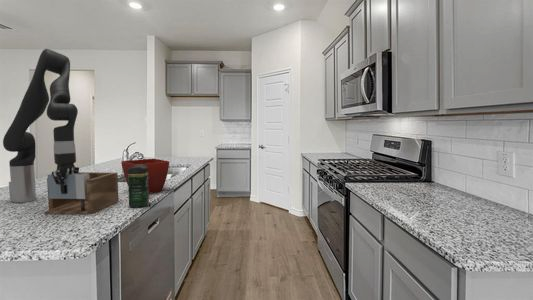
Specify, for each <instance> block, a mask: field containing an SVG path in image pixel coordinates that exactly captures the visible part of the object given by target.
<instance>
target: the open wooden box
mask: <svg viewBox="0 0 533 300" xmlns="http://www.w3.org/2000/svg"><path fill="white" fill-rule="evenodd" d="M78 174H89V180H86V183H87V198H86V199H49V189H48V177H47V178H46V184H47V186H46V187H47V200H48V201H47V202H48V210H46V211H44V212H43V215H45V214H46V215H88V214H89V215H93V214H96V213H97V212H100V211H102V210H104V209H107V208H108V207H111V206H112V205H115V204H117V203H118V202H119V184H118V183H119V181H118V180H119V179H118V172H100V171H99V172H94V171H93V172H92V171H91V172H84V171H83V172H82V171H81V172H80V171H79V172H78Z"/></svg>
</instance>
